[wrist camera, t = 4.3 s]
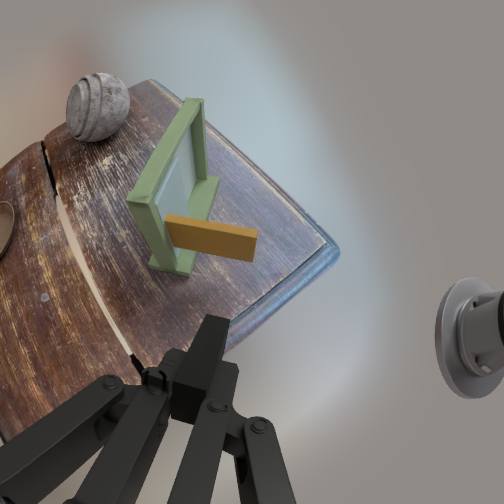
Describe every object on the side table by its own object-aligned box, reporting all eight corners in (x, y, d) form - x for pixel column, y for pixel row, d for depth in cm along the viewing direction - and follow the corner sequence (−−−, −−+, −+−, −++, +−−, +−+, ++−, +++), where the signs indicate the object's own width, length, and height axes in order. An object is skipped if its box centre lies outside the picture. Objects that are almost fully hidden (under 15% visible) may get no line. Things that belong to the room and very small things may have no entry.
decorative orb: (69, 136, 50) (48, 87, 37) (120, 106, 55) (107, 55, 42) (88, 166, 46) (61, 107, 33) (147, 129, 51) (134, 68, 38)
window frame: (219, 183, 45) (217, 99, 31) (190, 277, 38) (166, 206, 23) (185, 177, 45) (173, 96, 31) (150, 268, 38) (109, 197, 23)
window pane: (258, 232, 39) (269, 171, 28) (250, 275, 37) (259, 223, 25) (186, 219, 40) (173, 156, 28) (173, 259, 37) (150, 204, 25)
